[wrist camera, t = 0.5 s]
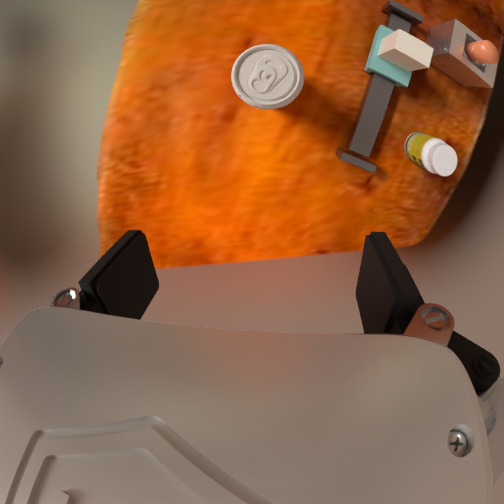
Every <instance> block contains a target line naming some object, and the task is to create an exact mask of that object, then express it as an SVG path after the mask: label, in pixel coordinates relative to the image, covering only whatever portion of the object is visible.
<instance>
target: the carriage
mask: <svg viewBox="0 0 504 504" xmlns="http://www.w3.org/2000/svg"><path fill="white" fill-rule="evenodd" d="M432 53H433V48H432V47H430V46H429V45H427V44H425V43H424V42H422V41H420V40H419V39H417V38H415V37H414V36H412V35H410V34H408V33H406V32H405V31H403V30H401V29H398V30H396V31H393V30H391V29H389V28H387V27H385V26H383V25H380V26H379V27H378V30H376V33H375V36H374V40H373V43H372V47H371V50H370V53H369V57H368V60H367V63H366V67H365V70H364V71H366V72H368V73H370V72H375V73H377V74H379V75H382V76H384V77H386V78H388V79H390V80H392V81H394V82H395V84H394V85H395V86H397V87H399V86H403V87H408V84H409V81H410V78H411V74H412V71H413V70H419V69H425V68H429V65H430V62H431V58H432Z"/></svg>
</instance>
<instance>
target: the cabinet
mask: <svg viewBox="0 0 504 504" xmlns="http://www.w3.org/2000/svg"><path fill="white" fill-rule="evenodd" d="M476 41H482V39H481V38H479V37H478V36H477V35H476V34H475V33H473V32H472V31H471V30H470V29H468V28H467V27H466V26H464V25H463V24H462V23H460V22H459V21H458V20H456V19H453V20H450V21H447V22H444V23H442V24H439V25H436V26H434V27H431V28H429V29H428V33H427V37H426V42H425V44H427V45H429V46H430V47H432V48H433V53H432V58H431V62H430V64H431V65H433V66H434V67H436V68H437V69H439V70H440V71H442V72H443V73H445V74H446V75H448V76H449V77H450V78H452V79H453V80H455V81H456V82H457V83H459V84H460V85H461V86H472V87H486V88H493V84H494V79H495V74H496V68H497V63H495V64H474V63H472V62H471V61H470V60H469V59H468V57H467V56H466V53H465V45H466V43H470V42H476Z"/></svg>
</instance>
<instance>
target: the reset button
mask: <svg viewBox="0 0 504 504" xmlns="http://www.w3.org/2000/svg"><path fill="white" fill-rule="evenodd" d="M465 53H466V56H467V57H468V59H469V60H470V61H471V62H472V63H474V64H495V63H497V62H498V60H499V55H498V51H497V49H496V47H495V46H494V45H493V43H491V42H490V41H488V40H482V41H476V42H470V43H466V45H465Z"/></svg>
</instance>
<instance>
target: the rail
mask: <svg viewBox="0 0 504 504" xmlns="http://www.w3.org/2000/svg"><path fill="white" fill-rule="evenodd" d="M381 11H382V12H384V13H386V14H388V15H389V16H387V19H386V23H385V27H387V28H389V29H391V30H393V31H396V30H398V29H401V30H403V31H405V32H406V33H408V34H409V31H410V26H411V27H414V26H416V25H418V24H420V23H422V22H423V19H424V17H423V16H421V15H419V14H417V13H416V12H414V11H412V10H410V9H409V8H407V7H405V6H403V5H401V4H399V3H397V2H395V1H393V0H389V1H388V2H387V3H386V4H385V5H384V6H383V7H382V10H381ZM394 84H395V82H394V81H392V80H390V79H388V78H386V77H384V76H382V75H379V74H377V73H375V72H371V74H370V78H369V81H368V84H367V87H366V90H365V93H364V96H363V99H362V102H361V105H360V108H359V111H358V114H357V117H356V120H355V123H354V126H353V128H352V131H351V134H350V137H349V140H348V142H347V145H346V148H348V149H349V150H352V151H354V152H356V153H359V154H361V155H364V156H366V157H368V158H369V156H370V153H371V151H372V148H373V145H374V143H375V140H376V137H377V135H378V132H379V129H380V126H381V123H382V121H383V118H384V115H385V112H386V109H387V106H388V103H389V100H390V97H391V94H392V91H393V88H394ZM336 155H337V156H338V157H339V159H341V160H343V161H346V162H348V163H351V164H353V165H356V166H358V167H361V168H363V169H365V170H368V171H370V172H372V173H375V171H376V169H377V166H376V165H375V164H373V163H372V162H371V161H370V160H367V159H365V158H363V157H360V156H358V155H355V154H353V153H350V152H348V151H345V150H343V149H340V148H338V149H337V152H336Z"/></svg>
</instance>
